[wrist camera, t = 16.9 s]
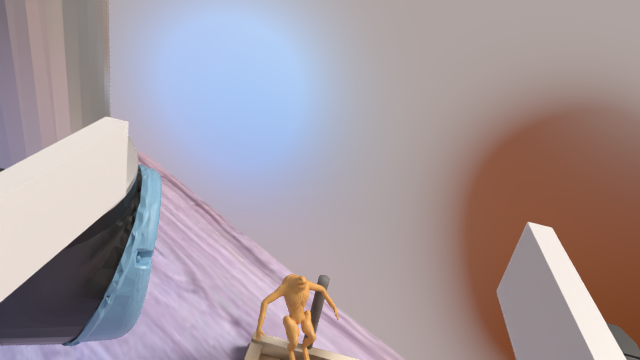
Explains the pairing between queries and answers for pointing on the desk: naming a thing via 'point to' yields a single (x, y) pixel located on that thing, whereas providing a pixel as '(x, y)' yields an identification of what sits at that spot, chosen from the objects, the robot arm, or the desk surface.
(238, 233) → the desk surface
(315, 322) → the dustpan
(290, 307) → the figurine
